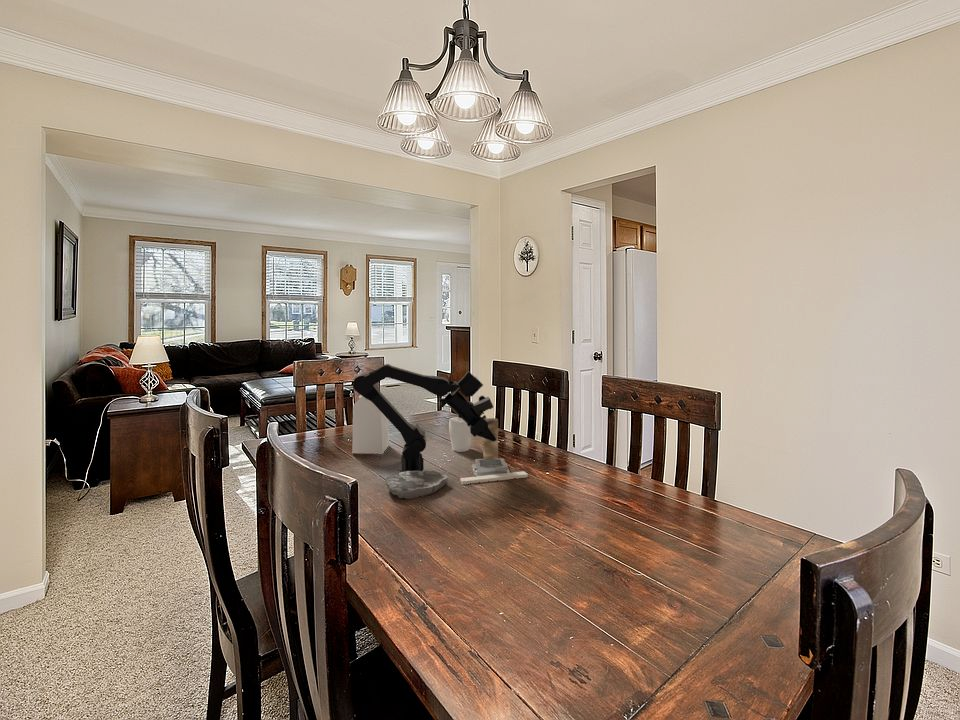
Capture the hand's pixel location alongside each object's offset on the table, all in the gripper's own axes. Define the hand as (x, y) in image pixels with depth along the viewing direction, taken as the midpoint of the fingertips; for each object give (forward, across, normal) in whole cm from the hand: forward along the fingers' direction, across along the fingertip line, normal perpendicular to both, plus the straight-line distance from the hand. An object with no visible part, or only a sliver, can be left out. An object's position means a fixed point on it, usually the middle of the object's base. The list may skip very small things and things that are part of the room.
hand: (494, 438), depth 165 cm
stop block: (+4, 0, +6) cm, 7 cm away
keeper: (+7, 0, +9) cm, 11 cm away
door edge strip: (+7, -8, +8) cm, 14 cm away
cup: (+1, +26, +15) cm, 30 cm away
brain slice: (-10, -14, +27) cm, 32 cm away
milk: (-24, +28, +40) cm, 54 cm away
